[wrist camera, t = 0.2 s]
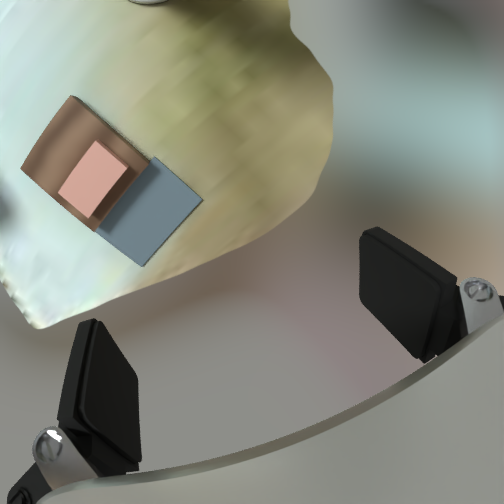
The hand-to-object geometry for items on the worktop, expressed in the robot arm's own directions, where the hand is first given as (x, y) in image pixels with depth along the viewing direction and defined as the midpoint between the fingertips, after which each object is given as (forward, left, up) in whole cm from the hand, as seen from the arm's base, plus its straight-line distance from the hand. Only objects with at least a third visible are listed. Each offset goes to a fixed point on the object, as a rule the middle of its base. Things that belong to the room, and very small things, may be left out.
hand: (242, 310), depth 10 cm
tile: (-9, -10, -33) cm, 35 cm away
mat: (+1, -10, -37) cm, 38 cm away
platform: (-12, -10, -37) cm, 40 cm away
